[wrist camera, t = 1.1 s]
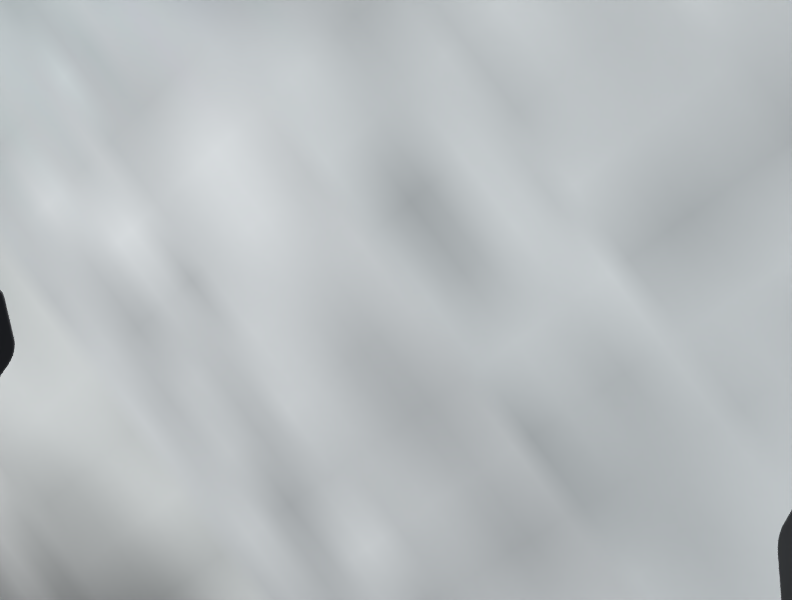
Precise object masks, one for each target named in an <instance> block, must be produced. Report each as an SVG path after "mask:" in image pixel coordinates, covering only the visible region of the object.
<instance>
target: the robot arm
mask: <svg viewBox="0 0 792 600" xmlns="http://www.w3.org/2000/svg"><path fill="white" fill-rule="evenodd" d="M14 346H15V342H14V337H13V332H12V328H11V324H10V319H9V315H8V311H7V307H6V302H5V298H4V295H3V293H2V292H1V290H0V376H1V374H2V373H3V371H4V370H5V368H6V367H7V366H8V364H9V362H10V361H11V358H12V356H13V353H14ZM778 560H779V574H780V587H781V600H792V511H791V512H790V514H789V516H788V517H787V519H786V521H785V523H784V524H783V526H782V529H781V532H780V535H779V540H778Z"/></svg>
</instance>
